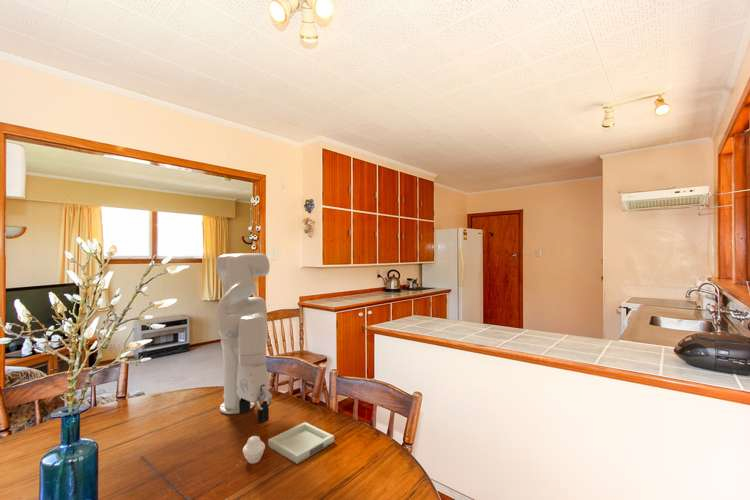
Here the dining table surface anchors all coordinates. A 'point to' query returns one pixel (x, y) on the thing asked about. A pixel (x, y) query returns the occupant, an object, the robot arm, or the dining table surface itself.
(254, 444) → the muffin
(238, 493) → the dining table surface
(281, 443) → the tray
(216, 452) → the dining table surface
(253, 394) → the robot arm
